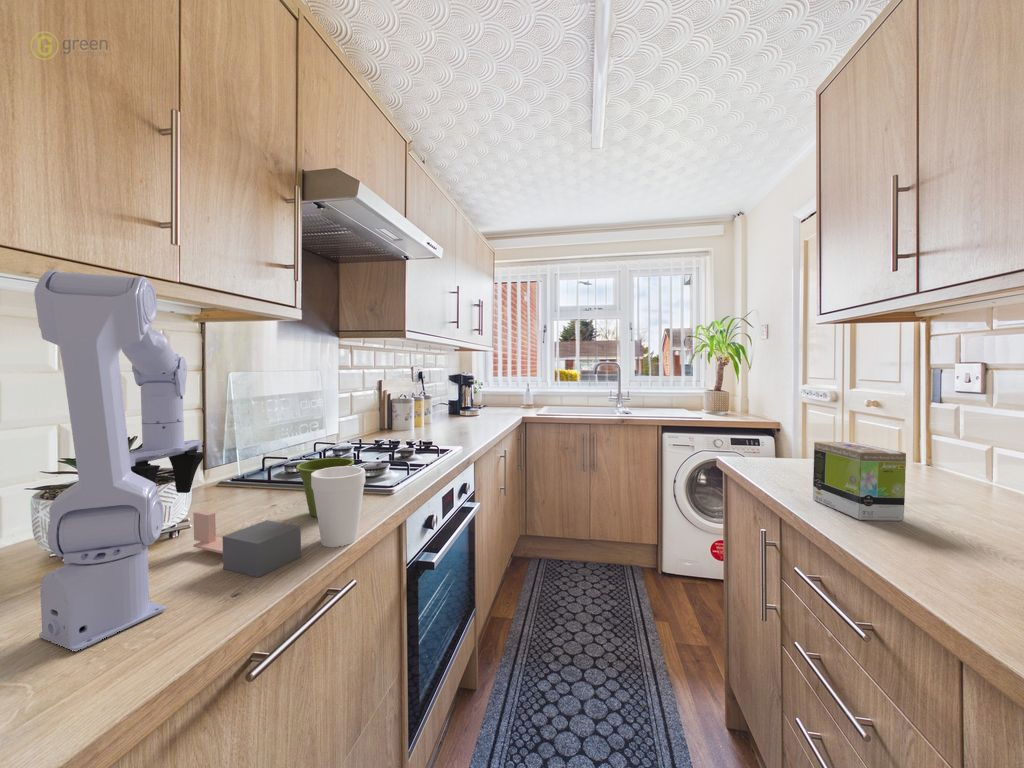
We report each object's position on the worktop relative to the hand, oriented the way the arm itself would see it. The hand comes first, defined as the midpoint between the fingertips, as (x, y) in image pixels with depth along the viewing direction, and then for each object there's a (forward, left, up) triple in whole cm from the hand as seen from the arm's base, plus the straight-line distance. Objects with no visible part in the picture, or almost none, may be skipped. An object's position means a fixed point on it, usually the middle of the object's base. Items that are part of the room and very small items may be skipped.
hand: (165, 498), depth 76 cm
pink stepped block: (+3, -9, -8) cm, 12 cm away
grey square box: (+3, -20, -9) cm, 22 cm away
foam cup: (+15, -25, -10) cm, 31 cm away
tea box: (+72, -122, -10) cm, 142 cm away
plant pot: (+26, -11, -10) cm, 30 cm away
